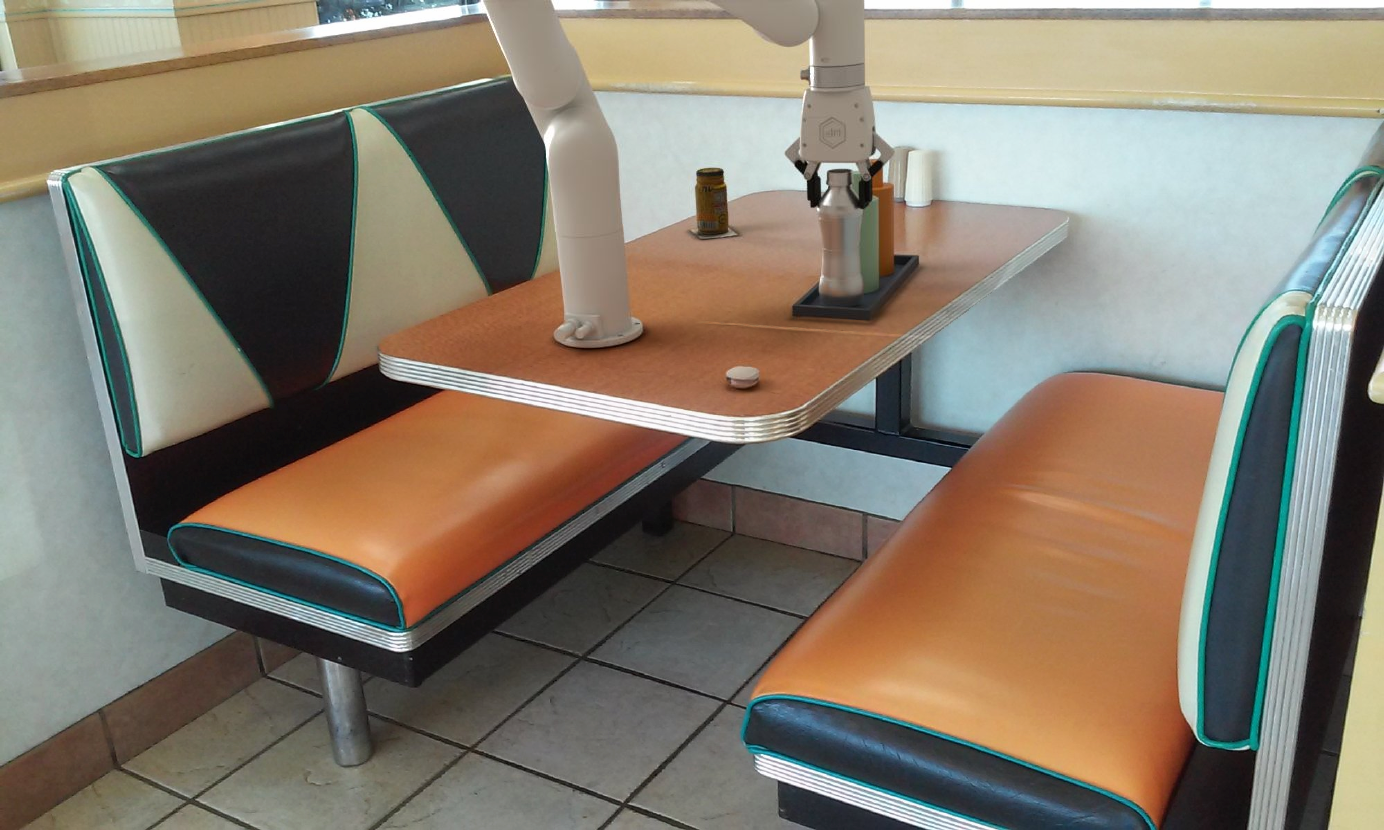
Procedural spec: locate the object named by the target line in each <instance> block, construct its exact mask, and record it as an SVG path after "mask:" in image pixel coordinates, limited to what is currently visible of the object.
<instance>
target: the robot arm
mask: <svg viewBox="0 0 1384 830" xmlns="http://www.w3.org/2000/svg"><path fill="white" fill-rule="evenodd" d="M480 1H481V3H482V6H483V9H484V11H485V13H486V16H487V19H488V20H489V23H490V26H491V28H492V31H493V33H494V34H495V37H496V40H497V42H498V44H499V47H500V49H501V52H502V53H503V56H504V58H505V60H506V63H507V65H508V67H509V70H510V72H511V77H512V80H513V83H514V86H515V88H516V90H517V91H518V93H519V94H520V95H521V97H522V98H523V100H524V102H525V104H526V106H527V107H526V108H527V109H528V111H529V113H530V116H531V117H532V120H533V122H534V124H535V126H536V129H537V130H538V132H539V135H540V137H541V139H542V141H543V143H544V146H545V154H546V155H545V157H546V164H547V172H548V179H549V180H548V181H549V187H550V195H551V197H550V198H551V206H552V216H553V223H554V225H553V226H554V231H555V238H556V247H557V256H558V262H559V263H558V265H559V272H560V273H559V274H560V283H561V291H562V292H561V293H562V300H563V309H564V313H563V320H564V322H563V323H562V324H561V325H559V326H558V328H556V329H554V331H553V338H554V340H555V341H556V342H559V343H560V344H562V345H564V346H567V347H572V348H579V349H583V348H584V349H599V348H609V347H614V346H619V345H622V344H626V343H628V342H632V341H633V340H635V339H637V338H639V337H640V336H641V335H642V334H643V332H644V326H643V322H642V321H641V320H640V319H639V318H636V317H634V316H632V309H631V299H630V287H629V277H628V267H627V255H626V244H625V232H624V231H625V230H624V224H623V211H622V201H621V199H622V198H621V185H620V183H621V182H620V162H619V160H620V159H619V151H618V150H619V149H618V146H617V141H616V138H615V135H614V133H613V130H612V129H611V127H610V125H609V123H608V121H607V119H606V117H605V115H604V112H603V110H602V108H601V106H600V103H599V101H598V99H597V97H596V94H595V92H594V90H593V87H592V85H591V82H590V80H589V78H588V76H587V73H586V71H585V68H584V66H583V64H582V62H581V59H580V55H579V54H578V52H577V50H576V49H575V47H574V45H573V44H572V43H571V42H570V41H569V38H568V37H567V35H566V32H565V30H564V27H563V26H562V23H561V21H560V19H559V16H558V14H557V11H556V10H555V7H554V3H553V1H552V0H480ZM706 1H707V2H709V3H711V4H713V5H714V6H716V7H718V8H720V9H722V10H724V11H725V12H727V13H728V14H730V15H732V16H734V17H735V18H736V19H738V20H740V21H742V22H743V23H744V24H746V25H748V26H749V27H751V28H752V29H753V32H755V34H756V35H757V36H759V38H761V39H762V40H764V41H766V42H769V43H772V44H774V45H777V46H780V47H783V48H784V47H785V48H793V47H797V46H801V45H802V44H805V43H806V42H807V41H808V44H809V66H808V68H806V69H801V70H800V73H799V74H800V75H799V77H800V80H801V81H806V82H808V86H810V87H809V88H805V89H804V91H803V98H802V103H801V112H800V113H801V114H800V130H799V137H797V138H796V139H795V140H794V141H793V143H792V144H791V145H790V146H789V147H788V148H787V149H786V150H785V151H784V155H785V157H786V158H787V159H788V160H789V161H790V163H792V164H793V165H794V168H795V169H796V170H797V171H798V172H799V173H800V174H801V175H802V176H803V179H804V180H805V181H806V199H807V201H808V202H809V207H810V208H811V209H815V208H817V206H818V202H819V200H820V199H821V197H822V178H821V176H820V175H819V171H820V167H821V166H822V164H855V165H856V167H857V169H858V170H857V171H859V172H860V174H861V181H859V208H860V209H865V208H866V207H867V206H868V205H869V202H871V201H872V198H873V180H872V178H873V177H874V176H875V175H876V174H877V173H878V172H879V171H880V170H881V168H882V167H883V168H884V167H885V165H887V163H888V162H889V161H890V160H891V159H892V158H893V156H894V155H895V154H896V152H895V149H894V148H892V147H891V146H890V145H889V144H888V143H887V142H886V141H885V140H884V139H883V138H882V137H881V136H880V135H879V134H878V133H877V127H876V118H875V117H876V116H875V109H874V102H873V97H872V92H871V88H870V86H869V85H866V51H865V50H866V47H865V46H866V43H865V42H866V41H865V39H866V37H865V34H866V33H865V31H866V30H865V28H866V27H865V0H706ZM876 151H878V152H879V153H880V156H879V157H878V158H876V159H877V161H876V162H875V163H874V164H873V165H872V163H871V161H870V159H871V158H870V157H872V156H874V155H875V154H876Z"/></svg>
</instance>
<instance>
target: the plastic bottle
mask: <svg viewBox="0 0 1384 830" xmlns="http://www.w3.org/2000/svg"><path fill="white" fill-rule="evenodd" d="M853 171H854V170H853V169H851V168H831V169H828V170H826V180H825V185H827V189H826V190H825V192H823V194H822V195H821V199H820V200H819V202H818V206H817V207H816V213H817V219H818V225H819V226H818V227H819V232H820V242H821V245H822V246H821V253H822V254H821V270H820V276H819V281H820V282H819V281H818V282H819V294H820V299H821V300H822V302H823V303H824V304H825V305H827V306H832V307H851V306H855V305H858V304H859V303H860V302H861V300H862V299H863V295H864V282H863V277H862V274H861V265H860V255H859V248H860V246H859V243H860V229H861V222H862V214H863V209H860V208H859V197H858V195H857V194H856V192H855V191H854V190H853V188H852V184H853V183H854V180H853Z"/></svg>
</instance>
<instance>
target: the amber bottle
mask: <svg viewBox="0 0 1384 830" xmlns="http://www.w3.org/2000/svg"><path fill="white" fill-rule="evenodd" d="M869 159H870V161H871V163H872V165H873V164H874V163H875V162H876V161H877V159H878V158H869ZM872 180H873V196H876V197H878V210H879V277H881V276H887V275H890V274H892V273H894V254H895V185H894V183H891V182H887V181H886V182H885V181H884V166H883V167H882V168H881V170H880V171H879V172H878V173H877V174H876V175H875V176H874V177H873V178H872Z"/></svg>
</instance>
